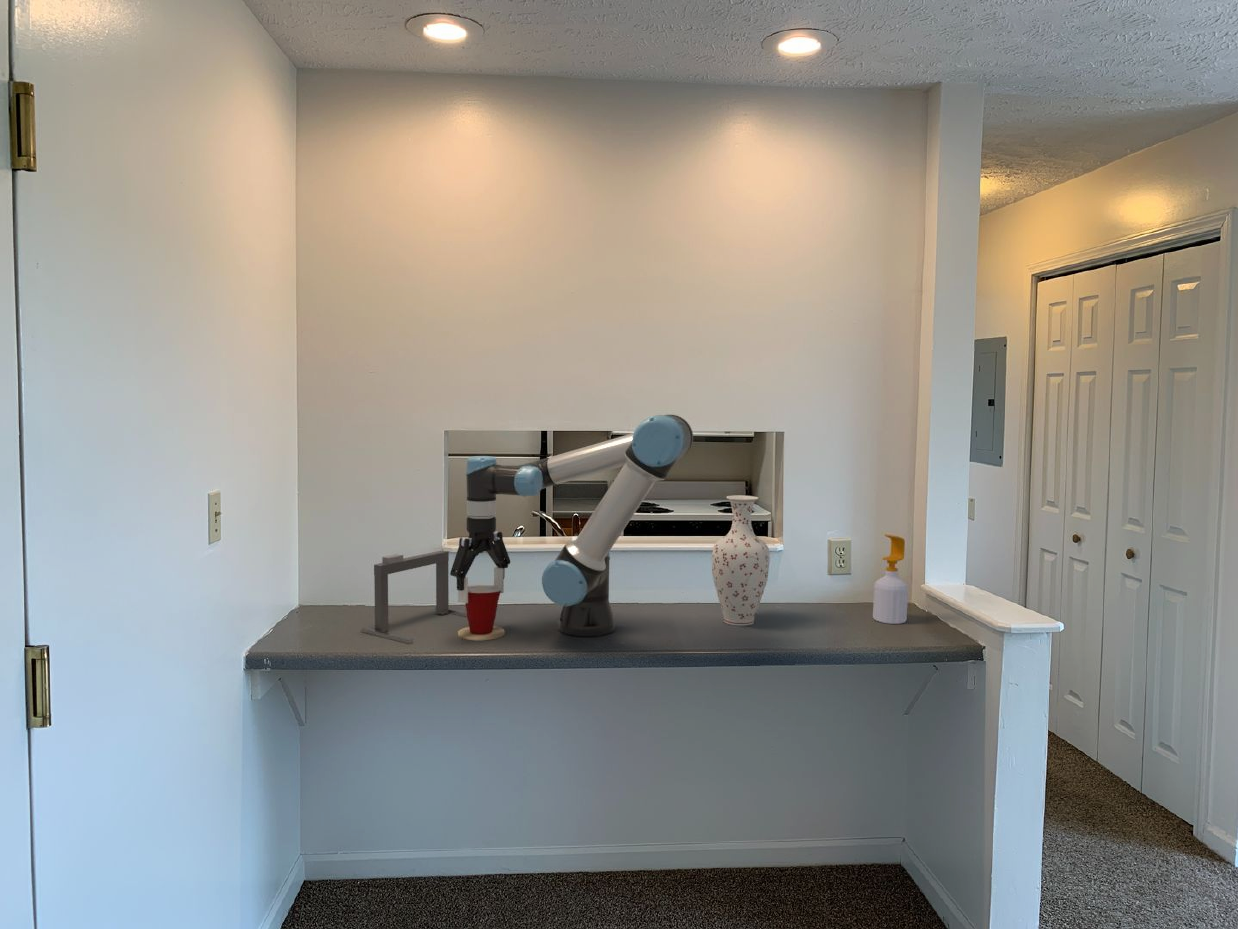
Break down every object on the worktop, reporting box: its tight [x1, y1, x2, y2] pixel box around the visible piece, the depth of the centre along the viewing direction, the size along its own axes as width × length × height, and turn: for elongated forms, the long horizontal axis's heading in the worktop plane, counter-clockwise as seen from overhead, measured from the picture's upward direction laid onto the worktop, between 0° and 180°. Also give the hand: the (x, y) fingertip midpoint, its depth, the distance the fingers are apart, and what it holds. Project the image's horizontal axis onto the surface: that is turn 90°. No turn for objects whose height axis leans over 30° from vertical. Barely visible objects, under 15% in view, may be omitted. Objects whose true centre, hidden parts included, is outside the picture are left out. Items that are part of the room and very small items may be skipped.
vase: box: [711, 494, 771, 627], centre depth 238 cm, size 16×16×35 cm
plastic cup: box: [464, 584, 503, 635], centre depth 223 cm, size 11×11×12 cm
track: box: [360, 607, 467, 645], centre depth 231 cm, size 18×28×1 cm, turn 147°
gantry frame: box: [373, 550, 450, 632], centre depth 232 cm, size 3×24×19 cm, turn 147°
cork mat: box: [457, 625, 505, 642], centre depth 224 cm, size 12×12×1 cm
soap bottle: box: [872, 533, 909, 625], centre depth 242 cm, size 9×9×25 cm
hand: (481, 597), depth 223 cm, fingers open, 13 cm apart
